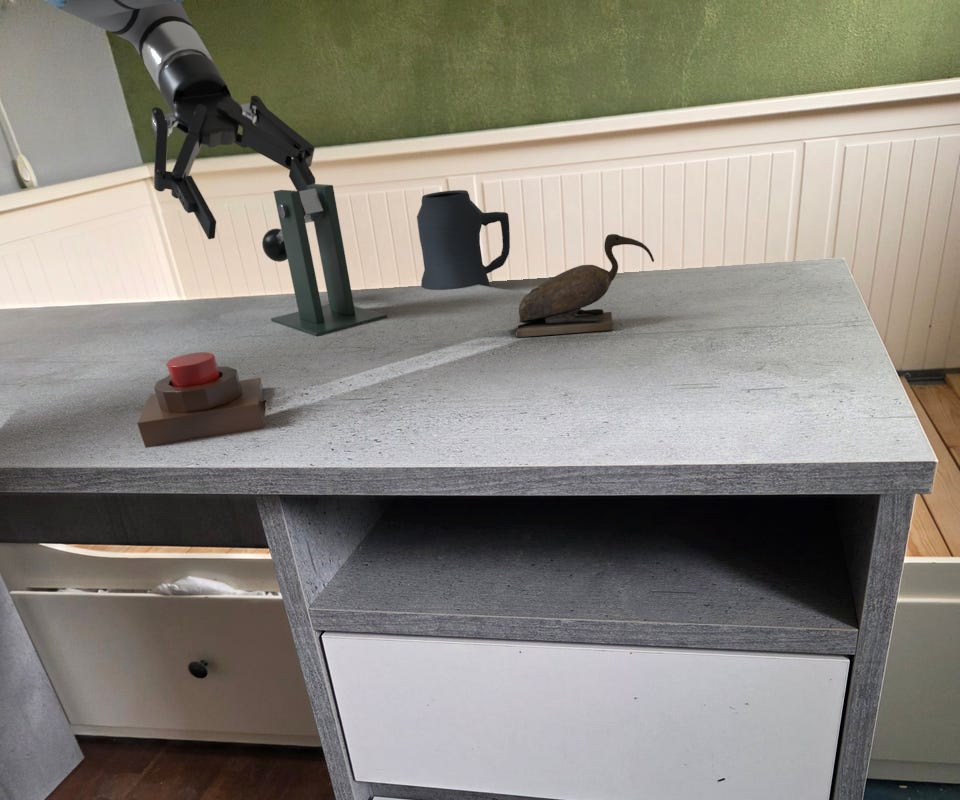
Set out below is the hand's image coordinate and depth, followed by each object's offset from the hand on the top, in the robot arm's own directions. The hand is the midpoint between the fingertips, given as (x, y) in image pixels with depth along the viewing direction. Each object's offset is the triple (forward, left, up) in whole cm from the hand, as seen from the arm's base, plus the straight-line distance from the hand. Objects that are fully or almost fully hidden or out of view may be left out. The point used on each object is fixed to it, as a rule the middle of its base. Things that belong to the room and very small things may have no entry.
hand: (266, 220), depth 104 cm
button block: (-7, -38, -11) cm, 41 cm away
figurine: (+31, -26, -11) cm, 42 cm away
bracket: (+5, -10, -11) cm, 16 cm away
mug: (+23, 0, -11) cm, 26 cm away
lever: (+3, -6, -2) cm, 7 cm away
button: (-7, -38, -7) cm, 40 cm away
